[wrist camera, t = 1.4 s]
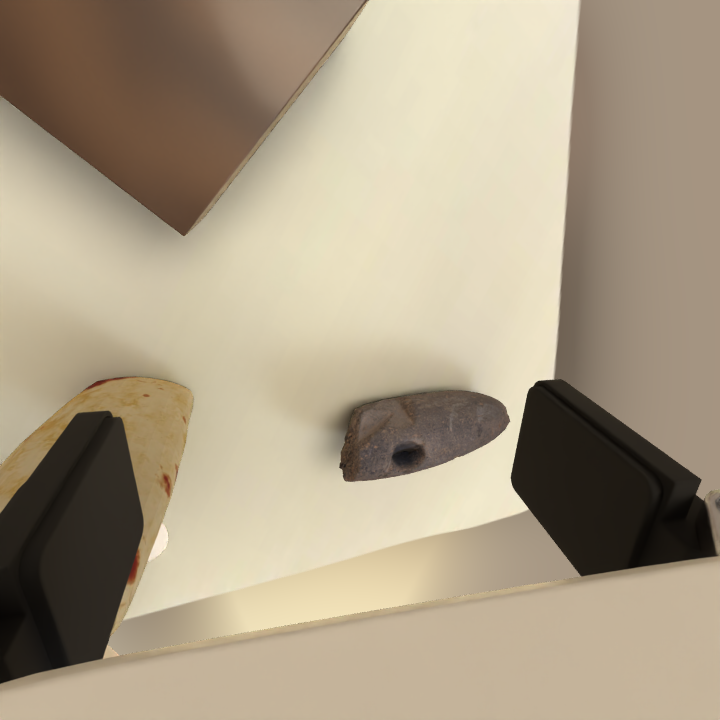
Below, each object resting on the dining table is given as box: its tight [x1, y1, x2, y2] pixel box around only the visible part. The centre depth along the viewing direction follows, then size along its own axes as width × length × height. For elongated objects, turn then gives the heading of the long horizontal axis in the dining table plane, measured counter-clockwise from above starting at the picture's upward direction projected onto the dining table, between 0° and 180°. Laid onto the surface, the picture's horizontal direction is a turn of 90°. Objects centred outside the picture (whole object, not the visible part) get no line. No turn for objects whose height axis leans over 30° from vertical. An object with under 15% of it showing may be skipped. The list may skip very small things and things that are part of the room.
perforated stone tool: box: [339, 391, 510, 482], centre depth 37 cm, size 15×5×7 cm, turn 94°
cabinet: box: [0, 0, 369, 236], centre depth 22 cm, size 15×14×9 cm
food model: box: [0, 377, 193, 636], centre depth 26 cm, size 10×7×20 cm
